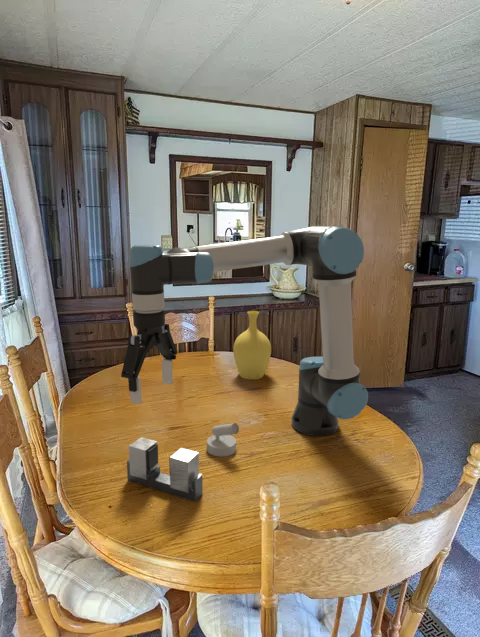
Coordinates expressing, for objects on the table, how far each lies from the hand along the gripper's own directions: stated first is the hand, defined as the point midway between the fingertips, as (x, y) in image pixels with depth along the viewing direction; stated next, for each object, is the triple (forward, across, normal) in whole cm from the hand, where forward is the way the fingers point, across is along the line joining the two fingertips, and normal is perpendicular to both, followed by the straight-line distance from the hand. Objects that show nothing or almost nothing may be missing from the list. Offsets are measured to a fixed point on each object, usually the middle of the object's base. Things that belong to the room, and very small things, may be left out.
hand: (152, 392), depth 110 cm
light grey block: (+20, +4, -1) cm, 21 cm away
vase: (+24, -80, -6) cm, 84 cm away
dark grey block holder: (+23, +4, +5) cm, 24 cm away
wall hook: (+24, -19, +10) cm, 32 cm away
